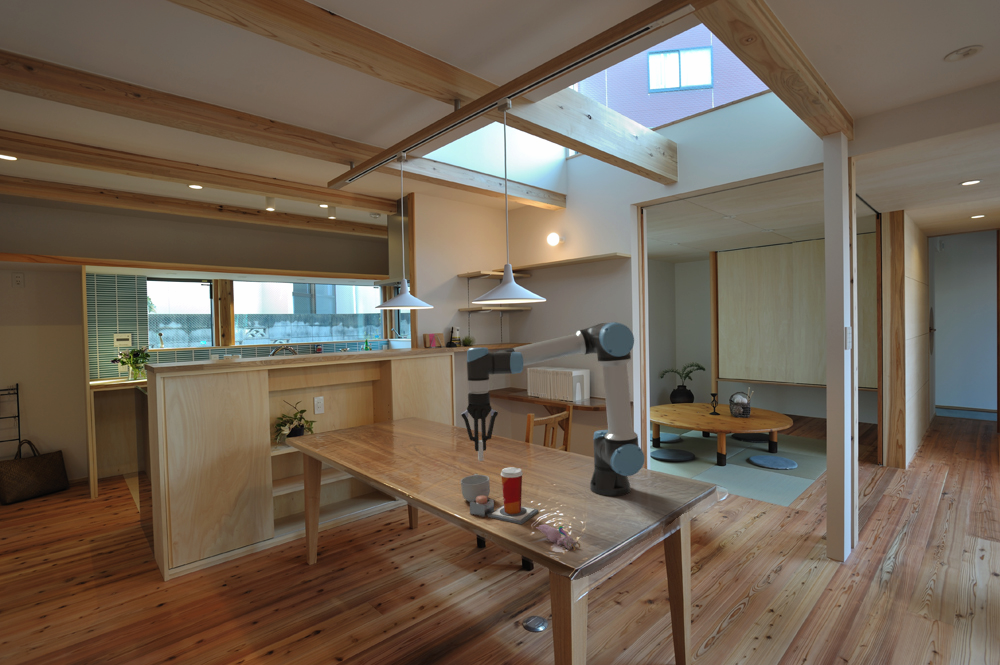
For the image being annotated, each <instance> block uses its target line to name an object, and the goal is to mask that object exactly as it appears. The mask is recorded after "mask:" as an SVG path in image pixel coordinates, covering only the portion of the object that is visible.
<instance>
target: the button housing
mask: <svg viewBox="0 0 1000 665" xmlns="http://www.w3.org/2000/svg"><path fill="white" fill-rule="evenodd" d="M494 501H495V500H494V499H492V498H488V497H487V503H485V504H480V503H476V499H475V500H473V501H471V502H469V515H473V514H474V516H477V515H479V516H478V517H481V518H482V517H483V518H485V516H486V517H488V514H490V513H491V512H493V511H494V510H495V502H494Z"/></svg>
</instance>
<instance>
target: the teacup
mask: <svg viewBox="0 0 1000 665" xmlns="http://www.w3.org/2000/svg"><path fill="white" fill-rule="evenodd" d="M459 482H460V487H461V495H462V497H463V498H464V500H466V501H467V502H469V503H470V502H471V501H473V500H475V499H476V497H477V496H487V498H488V497H489V495H490V494H491V486H490V484H491V483H490V477H489V476H488V475H485V474H478V473H474V474H473V475H467V476H465V477H462V478H461V480H459Z"/></svg>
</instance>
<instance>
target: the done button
mask: <svg viewBox="0 0 1000 665" xmlns="http://www.w3.org/2000/svg"><path fill="white" fill-rule="evenodd" d="M487 498H488V497H487V496H477V497H476V503H480V504H485V503H487Z"/></svg>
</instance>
